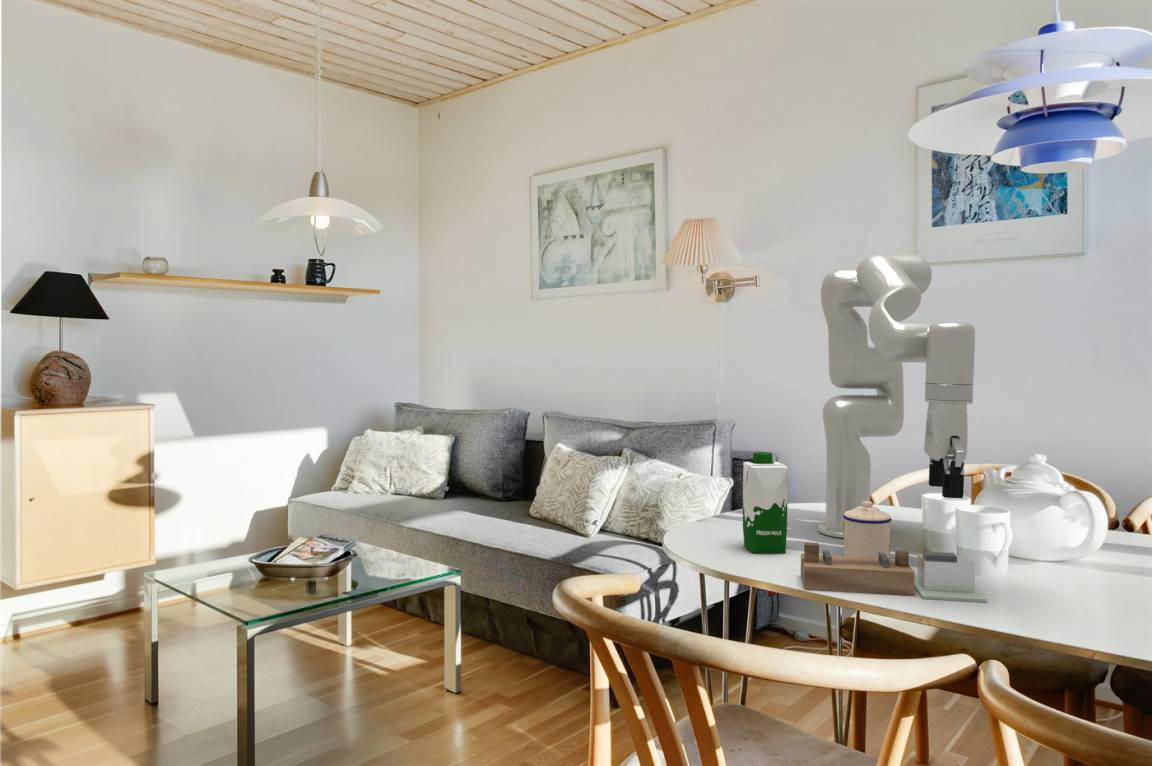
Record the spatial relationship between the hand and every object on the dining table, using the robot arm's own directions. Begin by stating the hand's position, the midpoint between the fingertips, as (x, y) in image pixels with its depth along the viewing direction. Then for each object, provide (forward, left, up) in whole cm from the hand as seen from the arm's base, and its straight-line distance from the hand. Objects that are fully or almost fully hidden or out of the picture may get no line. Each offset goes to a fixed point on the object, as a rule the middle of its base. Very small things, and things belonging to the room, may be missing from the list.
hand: (945, 491), depth 138 cm
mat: (+1, 0, -17) cm, 17 cm away
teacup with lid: (-19, -11, -17) cm, 28 cm away
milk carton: (-22, -30, -17) cm, 41 cm away
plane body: (+1, -15, -17) cm, 23 cm away
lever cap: (+1, 0, -17) cm, 17 cm away
